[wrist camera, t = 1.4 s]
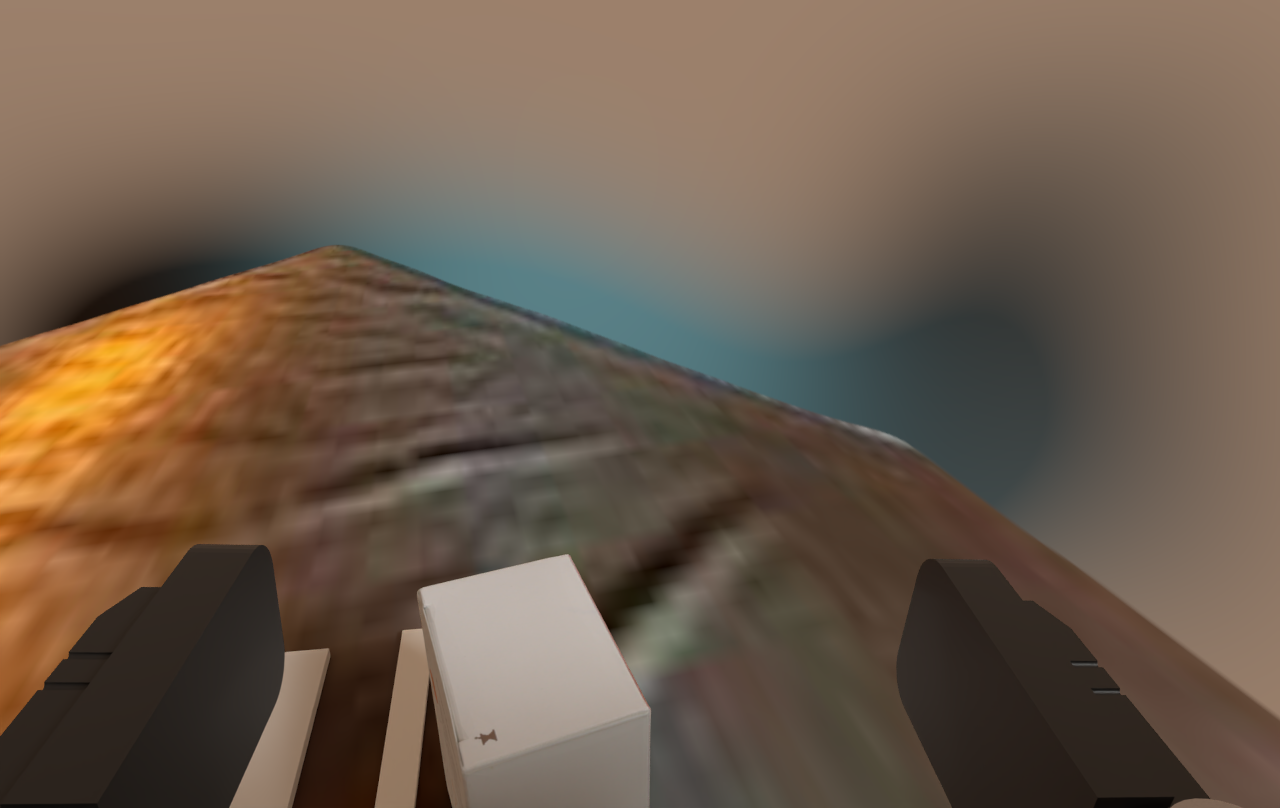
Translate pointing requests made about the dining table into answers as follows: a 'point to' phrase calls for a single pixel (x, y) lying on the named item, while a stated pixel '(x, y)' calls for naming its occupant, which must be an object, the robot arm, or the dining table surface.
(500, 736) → the small box
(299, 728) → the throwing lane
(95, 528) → the dining table surface
